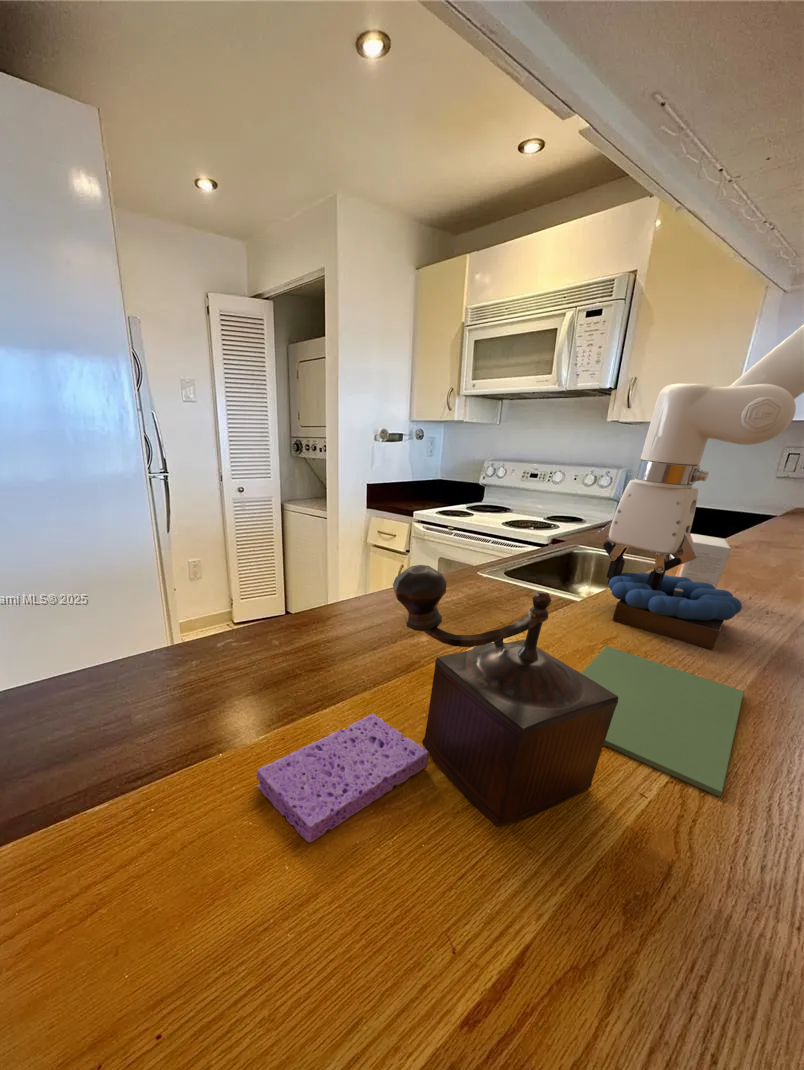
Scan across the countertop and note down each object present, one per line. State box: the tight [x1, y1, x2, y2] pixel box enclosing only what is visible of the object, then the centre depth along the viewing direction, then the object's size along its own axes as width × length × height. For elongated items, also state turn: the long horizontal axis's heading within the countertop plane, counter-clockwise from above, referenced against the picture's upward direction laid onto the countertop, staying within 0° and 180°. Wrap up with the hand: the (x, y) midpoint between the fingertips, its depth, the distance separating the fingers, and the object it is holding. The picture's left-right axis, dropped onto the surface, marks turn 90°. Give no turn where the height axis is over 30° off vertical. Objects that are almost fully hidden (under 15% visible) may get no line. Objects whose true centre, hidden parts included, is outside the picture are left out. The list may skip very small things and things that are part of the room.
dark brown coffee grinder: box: [392, 564, 618, 828], centre depth 37 cm, size 16×11×18 cm
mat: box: [580, 645, 745, 798], centre depth 52 cm, size 22×15×1 cm
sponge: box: [256, 713, 429, 843], centre depth 39 cm, size 7×13×2 cm, turn 131°
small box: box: [674, 533, 732, 589], centre depth 85 cm, size 8×6×10 cm
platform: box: [611, 588, 725, 651], centre depth 73 cm, size 13×13×6 cm
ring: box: [608, 572, 743, 621], centre depth 73 cm, size 18×15×3 cm
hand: (630, 587), depth 77 cm, fingers closed on ring, 4 cm apart
